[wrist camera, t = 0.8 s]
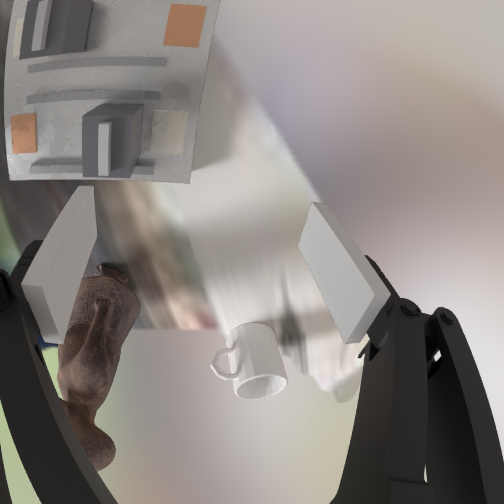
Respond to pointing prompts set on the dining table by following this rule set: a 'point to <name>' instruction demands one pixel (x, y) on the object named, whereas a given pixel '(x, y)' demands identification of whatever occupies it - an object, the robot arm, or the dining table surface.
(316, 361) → the dining table surface
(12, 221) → the dining table surface
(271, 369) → the mug
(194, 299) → the dining table surface
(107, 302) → the clay figurine
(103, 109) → the block
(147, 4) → the switch unit
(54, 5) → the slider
